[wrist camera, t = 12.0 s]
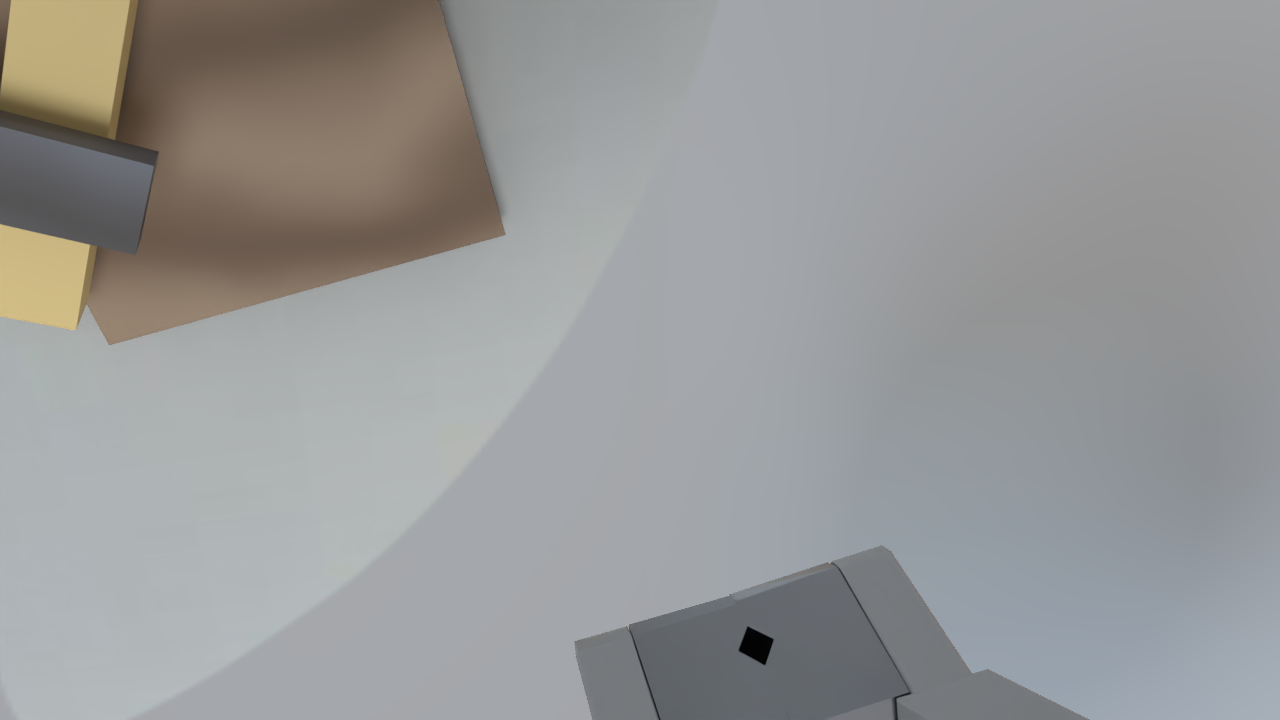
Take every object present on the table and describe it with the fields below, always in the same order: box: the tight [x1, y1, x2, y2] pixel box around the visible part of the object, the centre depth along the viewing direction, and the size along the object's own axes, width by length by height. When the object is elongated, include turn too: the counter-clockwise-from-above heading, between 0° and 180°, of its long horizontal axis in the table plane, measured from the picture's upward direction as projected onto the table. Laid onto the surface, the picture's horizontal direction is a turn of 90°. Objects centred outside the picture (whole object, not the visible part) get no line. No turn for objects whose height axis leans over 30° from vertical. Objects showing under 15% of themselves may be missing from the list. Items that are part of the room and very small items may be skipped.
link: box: [0, 0, 138, 330], centre depth 34 cm, size 18×4×2 cm, turn 158°
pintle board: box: [0, 0, 505, 345], centre depth 34 cm, size 20×16×7 cm
